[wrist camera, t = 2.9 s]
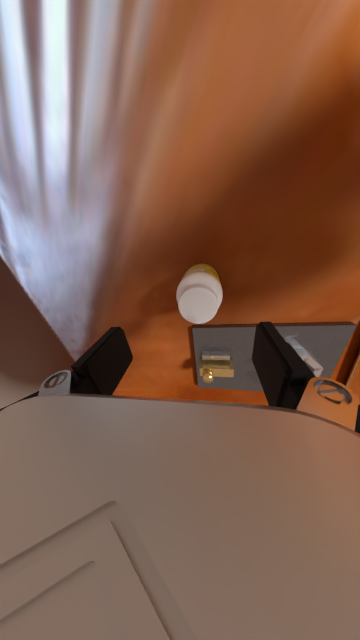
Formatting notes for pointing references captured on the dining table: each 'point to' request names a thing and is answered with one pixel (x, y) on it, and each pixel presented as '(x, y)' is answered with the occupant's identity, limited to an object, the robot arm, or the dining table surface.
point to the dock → (238, 339)
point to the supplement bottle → (199, 294)
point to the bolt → (216, 369)
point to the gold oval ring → (353, 370)
